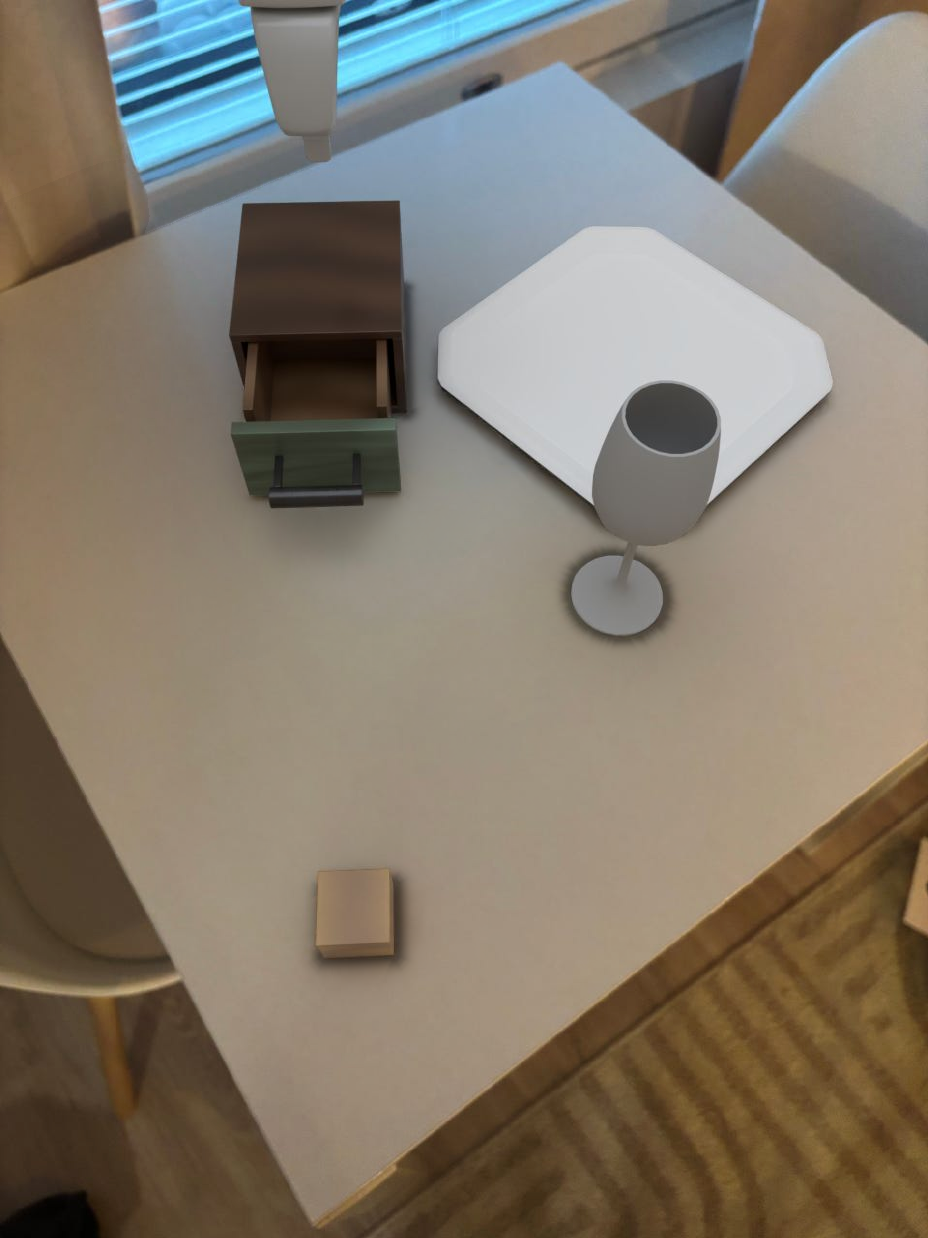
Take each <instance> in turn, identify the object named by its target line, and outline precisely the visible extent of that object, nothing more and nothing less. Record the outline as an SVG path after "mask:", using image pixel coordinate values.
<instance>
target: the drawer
mask: <svg viewBox="0 0 928 1238" xmlns="http://www.w3.org/2000/svg"><path fill="white" fill-rule="evenodd" d="M242 401H243V402H242V413H243V416H244V420H245V421H232V422H231V424H230V438H231V440H232V444H233V447H234V450H235V453H236V457H237V459H238V463H239V465H240V470H241V472H242V475H243V478H244V482H245V485H246V489H247V491H248V494H249V496H252V497H254V496H268V505H269V507H270V509H301V508H303V509H304V508H330V507H331V508H334V507H337V508H338V507H340V508H341V507H363V506H365V505H364V504H365V493H392V492H393V493H395V492H397V493H398V492H402V477H401V465H400V464H401V463H400V451H399V450H400V449H399V439H398V437H399V436H398V425H397V418H396V417H393V416H392V414H393V413H392V409H391V352H390V339H389V338H388V339H345V340H302V341H260V342H248V354H247V365H246V376H245V388H244V387H243V399H242Z"/></svg>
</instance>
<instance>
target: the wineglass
mask: <svg viewBox="0 0 928 1238" xmlns="http://www.w3.org/2000/svg"><path fill="white" fill-rule="evenodd" d="M720 440H721V417H720V414H719V411H718V408H717V407H716V405H715V404H714V402H713V401H712V400H711V399H710V398H709V397H708V396H707V395H706V394H705V393H704V392H702V391H701V390H699V389H697V388H696V387H694V386H691V385H688V384H686V383H683V382H677V381H672V380H660V381H655V382H649V383H647V384H644V385H642V386H640V387H638V388H637V389H635V390H634V391H633V392H631V394H630V395H629V396H628V397H627V399H626V400H625V401H624V403H623V405H622V406H621V408H620V410H619V411H618V413H617V415H616V417H615V419H614V421H613V423H612V425H611V427H610V429H609V432H608V434H607V436H606V439H605V441H604V443H603V446H602V448H601V451H600V454H599V456H598V459H597V462H596V464H595V468H594V473H593V482H592V499H593V503H594V507H595V508H594V507H593V508H594V509H595V512H596V513H597V516H598V517H599V520H600V521H601V523H602V525H603V526H604V527H605V528H606V529H607V530H608V531H609V533H610V534H612V535H614V536H615V537H616V538H617V539H619V540H621V541H624V542H627V543H626V547H625V551H624V554H623V555H604V556H600V557H597V558H594V559H592V560H590V561H588V562H587V563H585V564H584V565H583V566H582V567H580V568H579V570H578V571H577V573H576V574H575V576H574V578H573V581H572V584H571V593H570V597H571V601H572V605H573V608H574V610H575V612H576V614H577V615H578V616H579V618H580V619H581V620H582V621H583V622H584V623H585V624H586V625H587V626H589V627H590V628H591V629H593V630H595V631H598V632H599V633H602V634H605V635H610V636H614V637H627V636H631V635H637V634H639V633H642V632H643V631H645V630H647V629H648V628H649V627H650V626H652V625H653V624H654V623H655V622H656V620H657V619H658V617H659V615H660V613H661V611H662V608H663V605H664V592H663V589H662V585H661V583H660V581H659V579H658V578H657V576H656V575H655V573H654V572H653V571H652V570H651V569H650V568H649V567H647V566H646V565H645V564H643V563H642V562H641V561H638V560H636V559H634V558H635V554H636V551H637V548H638V546H641V547H658V546H663V545H668V544H669V543H671V542H673V541H676V540H678V539H679V538H682V537H683V536H684V535H685V534H687V533H688V532H689V531H690V530H691V529H693V528H694V526H695V525H696V523H697V522H698V521H699V519H700V518H701V517H702V514H703V513H704V512H705V509H706V508H707V506H706V505H707V503H708V500H709V497H710V494H711V491H712V487H713V483H714V479H715V474H716V469H717V463H718V458H719V450H720Z"/></svg>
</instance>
